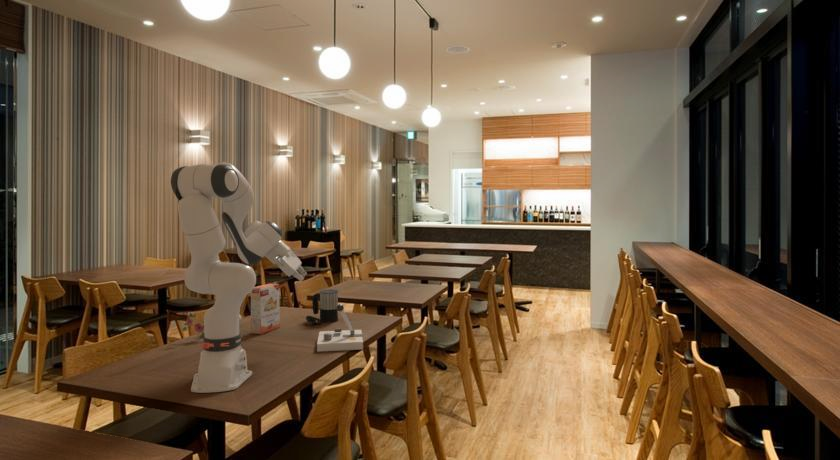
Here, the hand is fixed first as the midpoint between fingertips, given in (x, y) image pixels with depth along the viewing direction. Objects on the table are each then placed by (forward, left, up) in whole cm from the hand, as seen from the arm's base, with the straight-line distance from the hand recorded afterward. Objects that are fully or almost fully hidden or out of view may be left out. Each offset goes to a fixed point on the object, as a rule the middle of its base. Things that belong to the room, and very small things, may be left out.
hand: (304, 277), depth 213 cm
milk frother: (+40, -5, -28) cm, 49 cm away
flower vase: (+28, +42, -28) cm, 58 cm away
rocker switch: (+4, -13, -24) cm, 28 cm away
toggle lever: (0, -19, -23) cm, 30 cm away
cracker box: (+28, +20, -28) cm, 44 cm away
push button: (-4, -9, -25) cm, 27 cm away
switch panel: (0, -14, -28) cm, 31 cm away
